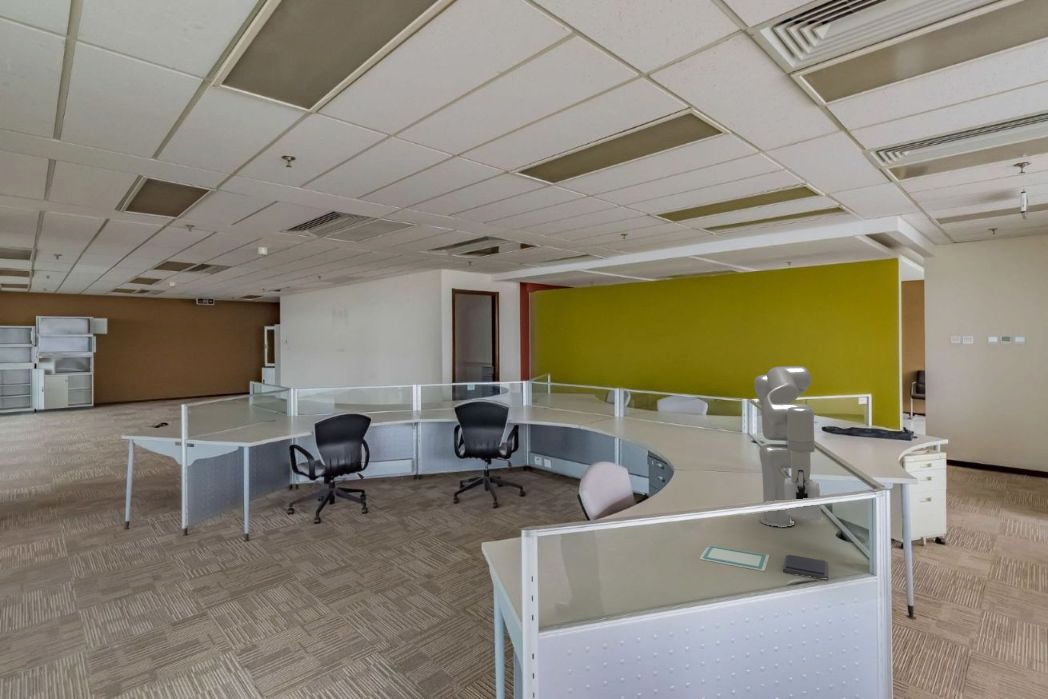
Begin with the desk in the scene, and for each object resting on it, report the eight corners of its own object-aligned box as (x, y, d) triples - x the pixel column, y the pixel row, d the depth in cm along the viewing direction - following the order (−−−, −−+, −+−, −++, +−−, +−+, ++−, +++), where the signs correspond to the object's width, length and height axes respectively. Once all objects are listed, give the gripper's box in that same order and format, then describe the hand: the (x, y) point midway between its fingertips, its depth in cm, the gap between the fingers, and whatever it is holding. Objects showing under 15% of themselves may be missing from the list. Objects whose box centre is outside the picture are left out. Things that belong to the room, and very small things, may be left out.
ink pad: (786, 558, 169) (785, 553, 169) (827, 565, 162) (827, 560, 162) (782, 572, 158) (782, 566, 158) (827, 580, 152) (827, 574, 152)
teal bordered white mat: (708, 545, 182) (708, 543, 182) (769, 555, 171) (769, 554, 171) (699, 559, 170) (699, 557, 170) (764, 571, 159) (764, 569, 159)
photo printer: (783, 514, 163) (781, 476, 163) (787, 511, 166) (786, 474, 166) (818, 522, 156) (817, 482, 156) (822, 518, 159) (821, 479, 158)
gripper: (789, 440, 170) (791, 494, 170) (785, 449, 155) (787, 508, 155) (815, 442, 166) (816, 497, 166) (813, 451, 151) (815, 512, 151)
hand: (802, 502), depth 161 cm, fingers closed on photo printer, 5 cm apart
